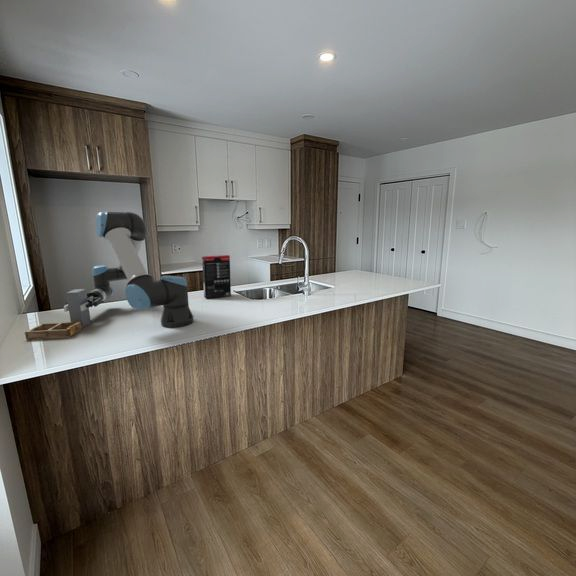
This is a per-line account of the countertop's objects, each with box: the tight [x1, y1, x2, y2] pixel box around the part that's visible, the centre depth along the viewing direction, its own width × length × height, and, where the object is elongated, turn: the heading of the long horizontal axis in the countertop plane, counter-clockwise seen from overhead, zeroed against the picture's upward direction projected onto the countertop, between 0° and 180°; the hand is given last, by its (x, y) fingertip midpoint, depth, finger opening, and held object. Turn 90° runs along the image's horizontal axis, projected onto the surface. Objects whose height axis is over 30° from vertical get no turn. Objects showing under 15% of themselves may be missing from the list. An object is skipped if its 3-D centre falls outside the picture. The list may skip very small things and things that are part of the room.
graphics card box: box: [201, 254, 232, 300], centre depth 206 cm, size 17×7×27 cm, turn 118°
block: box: [65, 288, 92, 328], centre depth 153 cm, size 8×5×17 cm, turn 8°
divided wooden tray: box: [24, 321, 84, 341], centre depth 142 cm, size 12×18×4 cm
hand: (73, 308), depth 148 cm, fingers open, 6 cm apart
